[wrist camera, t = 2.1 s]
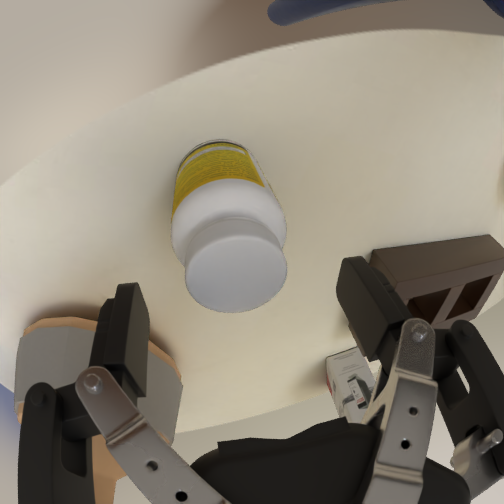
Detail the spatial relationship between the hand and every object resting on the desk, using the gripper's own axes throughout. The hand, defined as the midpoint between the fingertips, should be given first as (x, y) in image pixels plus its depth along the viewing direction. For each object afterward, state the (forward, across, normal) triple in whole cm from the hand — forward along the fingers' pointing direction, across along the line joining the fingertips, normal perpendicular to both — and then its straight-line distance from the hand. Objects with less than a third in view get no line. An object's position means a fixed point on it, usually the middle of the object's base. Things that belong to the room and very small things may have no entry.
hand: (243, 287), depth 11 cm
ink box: (+10, -15, +28) cm, 33 cm away
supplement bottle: (+10, 0, 0) cm, 10 cm away
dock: (+10, -23, +13) cm, 28 cm away
